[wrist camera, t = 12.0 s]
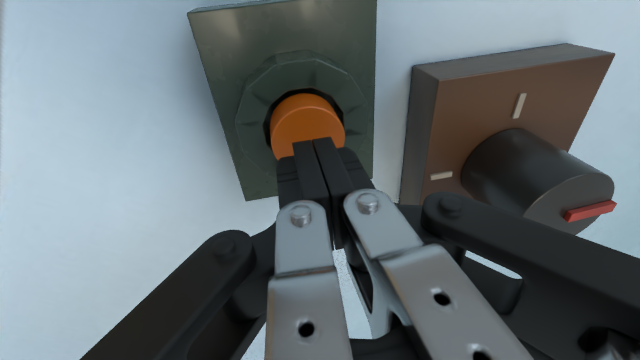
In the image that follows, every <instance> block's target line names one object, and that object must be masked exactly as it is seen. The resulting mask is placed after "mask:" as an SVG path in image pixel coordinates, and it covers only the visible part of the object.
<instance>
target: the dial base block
mask: <svg viewBox="0 0 640 360" xmlns="http://www.w3.org/2000/svg"><path fill="white" fill-rule="evenodd" d="M614 56H615V53H611V52H606V51H602V50H597V49H592V48H587V47H583V46H578V45H573V44H568V43H566V44H560V45H553V46H546V47H539V48H532V49H525V50H518V51H511V52H504V53H497V54H490V55H483V56H476V57H470V58H463V59H456V60H449V61H442V62H435V63H428V64H421V65H414V66H413V70H412V81H411V91H410V101H409V111H408V121H407V131H406V141H405V152H404V162H403V172H402V182H401V192H400V202H399V204H403V205H422V206H423V201H424V199H425V198H426V197H427V196H428V195H430V194H432V193H435V192H441V191H446V192H453V193H457V194H460V195H463V196H466V197H469V198H472V199H474V198H473V197H472V196H471V195H470V194H469V193H468V192H467V191H466V190H465V189H464V187H463V184H462V171H463V168H464V165H465V163H466V161H467V160H468V158H469V157H470V155H471V154H472V153H473V151H474V150H475V149H476V148H477V147H478V146H479V145H481V144H482V143H483V142H484V141H486V140H487V139H489V138H490V137H492V136H494V135H496V134H497V133H500V132H502V131H506V130H510V129H525V130H528V131H530V132H532V133H533V134H535V135H537V136H539V137H541V138H542V139H544V140H546V141H548V142H549V143H551V144H553V145H555V146H557V147H558V148H560V149H562V150H564V151H565V152H567V153H568V151H569V149H570V147H571V145H572V143H573V141H574V139H575V136H576V134H577V132H578V130H579V128H580V126H581V124H582V122H583V120H584V118H585V116H586V114H587V112H588V110H589V108H590V106H591V104H592V102H593V100H594V97H595V95H596V93H597V91H598V89H599V87H600V85H601V83H602V81H603V79H604V77H605V75H606V73H607V71H608V69H609V67H610V65H611V63H612V60H613V58H614ZM474 200H475V199H474Z"/></svg>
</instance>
